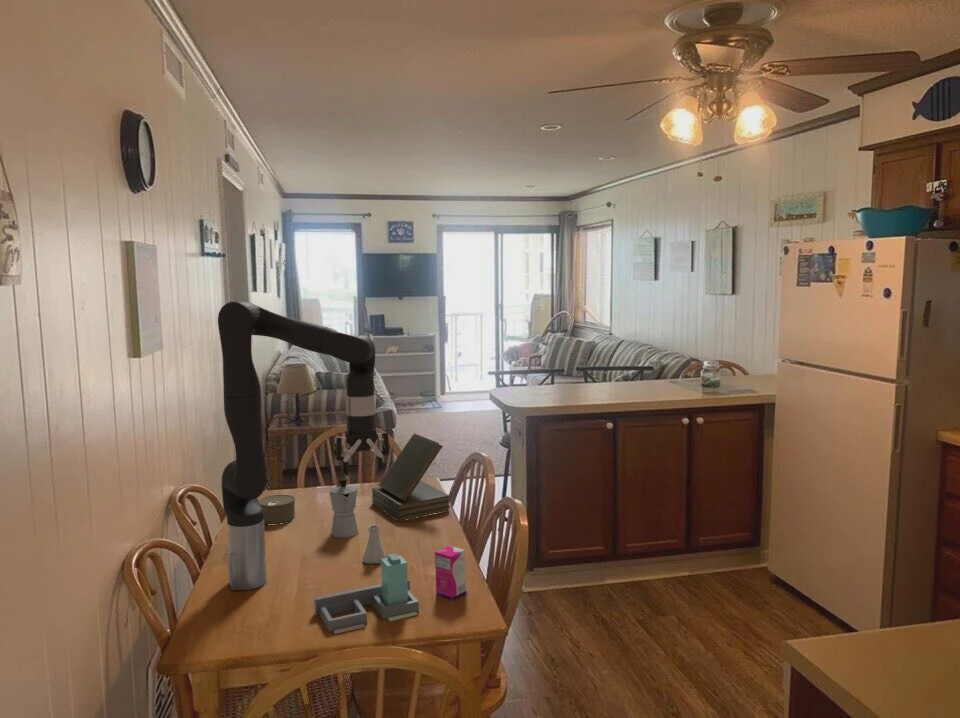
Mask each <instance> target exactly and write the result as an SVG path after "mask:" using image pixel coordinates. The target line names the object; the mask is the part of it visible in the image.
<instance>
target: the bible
mask: <svg viewBox="0 0 960 718" xmlns="http://www.w3.org/2000/svg"><path fill="white" fill-rule="evenodd" d="M442 448H443V445H441V444H440V443H439V442H437V441H435V440H432V439H429V438H427V437H425V436H422V435H419V434H418V433H413V434H412V435H411V437H410V439H408V441H407V443H406V444H405V446H404V447H403V448H402V450H401V451H400V454H399V455H397V457H396V459H395V460H394V462H393V463H392V465H391V466H390V468H389V469H388V471H387V472H386V473H385V475H384V477H383V478H382V480H380V482H379V484H378V486H377V487H373V488H371V492H372V493H371V495H372V501H371V502H372V505H373V504H374V505H373V506H375V507H376V506H377V507H376V508H377V509H379V508H380V510H381V511H382V510H383V511H382V512H384V511H385V512H386V513H385V512H384V513H385V514H387V513H388V514H389V515H388V514H387V515H388V516H390V517H391V516H392V518H393V517H394V518H395V519H394V518H393V519H394V520H396V519H397V520H398V521H397V520H396V521H397V522H399V521H400V522H403V521H402V520H405V521H407V520H406V519H410V520H413V519H412V518H415V519H417V518H416V517H420V518H422V517H421V516H425V515H429V514H433V513H439V512H444V511H450V506H451V505H450V501H451V500H450V494H448V493H446V492H444V491H442V490H440V489H438V488H436V487H434V486H432V485H430V484H428V483H426V482H424V481H423V480H422V478H423V477H424V476H425V473H426V472H427V471H428V469H429V468H430V466H431V465H432V463H433V461H434V460H435V458H436V457H437V456H438V454H439V453H440V451H441V449H442ZM444 513H445V512H444ZM425 517H426V516H425Z"/></svg>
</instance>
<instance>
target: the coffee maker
mask: <svg viewBox="0 0 960 718" xmlns="http://www.w3.org/2000/svg"><path fill="white" fill-rule="evenodd" d="M347 481H348V479H347V478H340V479H339V483H338V484H336V486H335V487H332V488H331V489H330V490H329V496H330V502H331V509H332V512H334V513H333V517H332V525H331V532H330V535H331V536H332V538H335V539H341V538H343V539H348V537H350V538H353V537H355V536H357V535H359V530H358V525H357V519H356V515H355V509H356V504H357V503H356V501H357V496H358V495H357V493H358V488H357V487H354V486H352V485H347ZM356 534H357V535H356Z"/></svg>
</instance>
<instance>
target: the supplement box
mask: <svg viewBox="0 0 960 718" xmlns="http://www.w3.org/2000/svg"><path fill="white" fill-rule="evenodd" d="M434 563H435V565H434V566H435V590H436V595H438V596H441V597H444V598H446V599H449V600H452V601H454V600H455V599H457V598H459V597H461V596H462V595H464V594H466V593H467V570H466V569H467V567H466V549H464V548H460V547H456V546H452V545H447V546H445V547H443V548H441V549H438V550H436V551H434Z"/></svg>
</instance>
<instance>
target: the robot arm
mask: <svg viewBox="0 0 960 718" xmlns="http://www.w3.org/2000/svg"><path fill="white" fill-rule="evenodd" d="M217 326H218V333H219V340H220V346H221V353H222V376H223V377H222V378H223V379H222V380H223V381H222V383H223V408H224V409H223V410H224V416H225V420H226V424H227V426H228V428H229V429H228V430H229V433H230V436H231V438H232V441H233V443H234V448H235V449H234V450H235V460H232V461H231V462H229V463H227V465H226V466H225V467H224V470H223V471H222V476H221V492H222V493H221V494H222V506H223V507H222V508H223V511H224V514H225V516H226V523H227V525H226V526H227V543H228V544H227V545H228V546H227V566H228V567H227V568H228V583H229V586H230V589H231V591H251V590H254V589H257V588H260V587H262V586H263V585H265V584H266V583H267V564H266V563H267V561H266V539H265V538H266V537H265V524H264V512H263V508H262V507H261V505H260V504H259V502H258V501H259V500H258V498H260V496H262V494H263V493H264V492H265V489H266V487H267V483H268V470H267V466H266V459H265V451H264V444H263V442H264V441H263V417H262V412H263V411H262V410H263V409H262V402H263V400H262V388H261V382H260V379H259V376H258V373H257V370H256V368H255V365H254V361H253V356H252V336H259V337H260V336H262V337H268V338H273V339H275V340H276V339H277V340H280V341H282V342H283V341H284V342H286V343H288V344H290V345H292V346H296V347H297V348H300V349H303V350H307V351H309V352H314V353H318V354H321V355H328V356H329V357H330V356H331V357H333V358H336V359H339V360H340V361H343V362H345V363H348V364H349V368H348V374H347V376H346V402H345V406H346V407H345V408H346V409H345V413H346V417H345V418H346V435H345V436H339V435H335V436H334V442H333V443H334V445H333V457H334V459H335V460H336V461H341V473H342V474H343V475H344V476H346V477H348V476H349V475H350V471H349V470H350V468H349V467H350V466H349V463H350V462H349V459H350V458H351V456H353V455H354V453H355V452H356V453H357V452H358V453H359V452H362V451H365V452H367V451H368V452H369V450H371V451H372V453H374V455H375V458H374V459H375V460H374V461H375V465H374V466H375V471H376V472H377V473H379V472H381V471H382V469H383V458H384V457H385V456H388V455H389V454H391V453H390V442H389V433H388V432H387V431H384V430H382V431H380V432H377V421H376V420H377V417H376V412H377V411H376V399H375V380H374V379H375V378H374V373H375V365H376V346H375V343H374V341H373V339H372V338H370V337H369V336H367V335H364V334H363V335H362V334H359V335H351V334H348V333H343V332H339V331H338V330H337V329H335V328H333V327H328V326H326V325H325V326H324V325H320V324H317V323H313V322H308V321H303V320H299V319H296V318H291V317H287V316H284V315H281V314H278V313H275V312H273V311H270V310H268V309H266V308H263V307H261V306H259V305H257V304H255V303H252V302H250V301H247V300H234V301H228V302H226V303H225V304H224V305H223V306H222V307H220V310H219V312H218V315H217ZM378 439H379V440H380V441H381V450H380V449H379V447H378V446H377V444H375V443H376V441H377V440H378ZM345 442H346V443H347V444H348V445H347V446H346V447H345V450H344V452H343V454H342V446H344V443H345Z"/></svg>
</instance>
